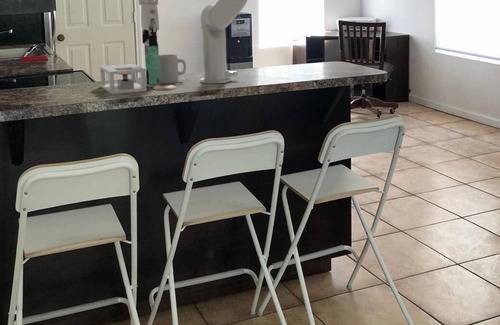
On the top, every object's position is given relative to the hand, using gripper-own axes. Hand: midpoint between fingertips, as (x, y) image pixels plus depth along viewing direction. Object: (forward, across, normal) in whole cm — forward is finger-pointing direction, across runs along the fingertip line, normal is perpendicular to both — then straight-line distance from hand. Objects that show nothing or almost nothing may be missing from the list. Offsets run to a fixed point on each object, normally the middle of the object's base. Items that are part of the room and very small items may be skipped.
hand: (149, 44), depth 280 cm
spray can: (+17, 0, -1) cm, 17 cm away
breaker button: (+13, -7, +12) cm, 19 cm away
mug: (+17, +6, -11) cm, 21 cm away
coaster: (+16, -9, -3) cm, 19 cm away
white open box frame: (+17, -3, +12) cm, 21 cm away
